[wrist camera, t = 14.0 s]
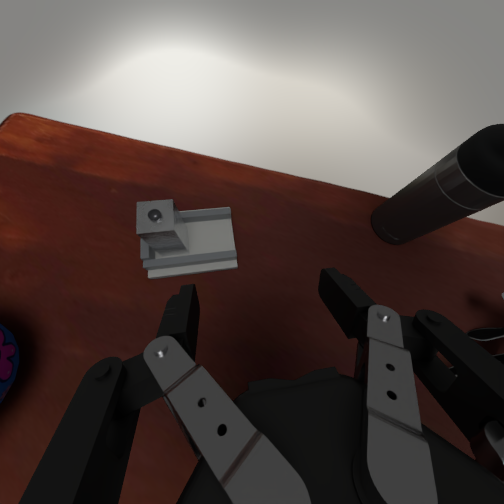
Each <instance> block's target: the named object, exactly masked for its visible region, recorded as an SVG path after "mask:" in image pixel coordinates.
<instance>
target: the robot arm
mask: <svg viewBox="0 0 504 504" xmlns="http://www.w3.org/2000/svg"><path fill="white" fill-rule="evenodd" d="M501 201H504V124H496V125H491V126H488V127H486V128H484V129H482V130H480V131H478V132H477V133H476V134H474V135H473V136H471V137H470V138H469V139H468V140H466V141H465V142H464V143H462V144H461V145H460V146H458V147H457V148H456V149H454V150H453V151H452V152H450V153H449V154H448V155H446V156H445V157H444V158H442V159H441V160H440V161H439V162H437V163H436V164H435V165H433V166H432V167H431V168H430V169H428V170H427V171H425V172H424V173H423V174H421V175H420V176H419V177H417V179H415V180H413V181H412V182H411V183H410V184H408V185H407V186H406V187H404V188H403V189H402V190H400V191H399V192H398V193H396V194H395V195H394V196H392V197H391V198H390V199H388V200H387V201H386V202H384V203H383V204H382V205H380V206H379V207H378V208H376V209H375V210H374V212H373V214H372V218H371V222H372V226H373V228H374V230H375V232H376V233H377V235H378V236H379V237H380V238H381V239H383V240H384V241H386V242H388V243H391V244H397V245H399V244H404V243H406V242H408V241H411V240H413V239H415V238H418V237H420V236H423V235H425V234H427V233H430V232H432V231H434V230H437V229H439V228H441V227H444V226H446V225H448V224H451V223H453V222H455V221H458V220H460V219H462V218H465V217H467V216H469V215H471V214H474V213H476V212H478V211H481V210H483V209H485V208H488V207H489V206H492V205H494V204H497V203H499V202H501ZM318 292H319V295H320V297H321V299H322V301H323V302H324V303H325V305H326V306H327V308H328V309H329V311H330V312H331V314H332V315H333V317H334V318H335V320H336V321H337V323H338V324H339V326H340V327H341V329H342V330H343V332H344V333H345V335H346V336H347V338H348V339H351V338H357V339H358V344H357V352H356V362H355V372H354V378H352V377H349V376H346V375H342V374H338V372H337V370H336V368H335V367H330V368H325V369H319V370H314V371H312V372H310V373H308V374H306V375H304V376H302V377H300V378H299V379H297V380H283V379H272V378H269V379H264V380H258V381H253V382H248V389H249V390H247V391H245V392H243V393H242V394H241V395H239V396H238V397H237V398H236V399H235V400H234V401H233V402H232V400H231V399H230V398H229V397H228V396H227V395H226V393H225V392H224V391H223V390H222V389H221V387H220V386H219V385H218V384H217V383H216V382H215V380H214V379H213V378H212V377H211V376H210V375H209V373H208V372H207V371H206V370H205V369H204V368H203V367H202V366H201V365H200V364H199V365H196V364H195V354H196V345H197V335H198V325H199V316H200V306H199V300H198V296H197V291H196V287H195V284H190V285H182V286H181V289H180V293H179V294H178V295H173V296H172V297H171V298H170V299H169V300H168V302H167V304H166V308H165V311H164V314H163V317H162V320H161V323H160V327H159V330H158V333H157V336H156V339H155V340H153V341H152V342H151V343H149V345H148V346H147V347H146V349H145V351H144V352H143V353H141V354H139V355H137V356H135V357H132V358H130V359H128V360H125V361H123V362H122V361H121V359H120V358H118V357H108V358H105V359H103V360H101V361H99V362H97V363H96V364H95V365H93V366H92V367H91V368H90V369H89V370H88V371H87V372H86V374H85V375H84V377H83V379H82V381H81V383H80V385H79V387H78V389H77V391H76V393H75V395H74V397H73V398H72V400H71V402H70V404H69V406H68V408H67V410H66V412H65V414H64V416H63V418H62V420H61V422H60V424H59V426H58V428H57V430H56V432H55V434H54V435H53V437H52V439H51V441H50V443H49V445H48V447H47V449H46V451H45V453H44V455H43V457H42V459H41V461H40V463H39V465H38V467H37V469H36V471H35V472H34V474H33V476H32V478H31V480H30V482H29V484H28V486H27V488H26V490H25V492H24V494H23V496H22V498H21V500H20V502H19V504H118V502H119V498H120V494H121V489H122V485H123V481H124V477H125V472H126V468H127V464H128V460H129V456H130V451H131V447H132V443H133V439H134V434H135V430H136V426H137V422H138V417H139V413H140V409H141V407H142V406H144V405H146V404H148V403H150V402H152V401H154V400H156V399H158V398H160V397H163V399H164V401H165V402H166V404H167V406H168V408H169V409H170V411H171V413H172V415H173V416H174V418H175V420H176V421H177V423H178V425H179V427H180V429H181V430H182V432H183V434H184V436H185V438H186V440H187V442H188V443H189V445H190V447H191V449H192V450H193V452H194V454H195V456H196V457H197V459H198V461H199V462H198V463H197V465H196V467H195V469H194V471H193V473H192V475H191V477H190V478H189V480H188V482H187V484H186V486H185V488H184V490H183V492H182V493H181V495H180V497H179V499H178V501H177V503H176V504H504V365H503V364H502V363H501V362H500V361H498V360H497V359H496V358H495V357H494V356H492V355H491V354H490V353H489V352H487V351H486V350H485V349H484V348H482V347H481V346H480V345H479V344H478V343H476V342H475V341H474V340H473V339H471V338H470V337H469V336H468V335H466V334H465V333H464V332H463V331H462V330H460V329H459V328H458V327H457V326H455V325H454V324H453V323H452V322H451V321H449V320H448V319H447V318H445V317H444V316H442V315H441V314H439V313H436V312H434V311H430V310H419V311H417V313H416V315H415V317H410V316H400V315H398V314H397V313H396V312H395V311H394V310H392V309H390V308H388V307H386V306H382V305H377V304H376V303H375V302H374V301H373V300H372V299H371V298H370V297H369V296H368V295H367V294H366V293H365V292H364V291H363V290H362V289H361V288H360V287H359V286H358V285H356V283H355V282H354V281H353V280H352V279H351V278H349V277H347V276H346V275H344V274H340V273H339V272H338V271H337V269H336V268H326V269H322V270H321V273H320V280H319V286H318ZM438 351H439V352H440V353H441V354H442V355H443V356H444V357H445V358H446V359H447V360H448V361H449V362H450V363H451V364H452V365H453V366H454V368H455V369H456V371H457V377H456V376H455V375H454V373H453V372H452V371H451V370H450V369H449V368H448V367H447V366H446V365H445V364H444V363H443V362H442V361H441V360H440V359H439V358H438V357H437V356H436V354H437V353H438ZM413 372H414V373H415V374H416V375H417V377H418V378H419V379H420V380H421V382H422V383H423V384H424V385H425V387H426V388H427V389H428V390H429V392H430V393H431V394H432V395H433V397H434V398H435V399H436V400H437V402H438V403H439V404H440V405H441V407H442V408H443V409H444V410H445V412H446V413H447V414H448V415H449V417H450V418H451V419H452V420H453V422H454V423H455V424H456V425H457V427H458V428H459V429H460V430H461V432H462V433H463V434H464V435H465V437H466V438H467V439H468V440H469V442H470V447H471V450H472V452H473V454H474V456H475V458H476V459H475V460H474V459H472V458H471V457H469V456H468V455H466V454H465V453H463V452H462V451H461V450H459V449H458V448H456V447H455V446H453V445H452V444H451V443H449V442H448V441H446V440H445V439H443V438H442V437H440V436H439V435H438V434H436V433H435V432H433V431H432V430H430V429H429V428H428V427H426V426H425V425H423V424H422V423H421V422H420V415H419V408H418V401H417V395H416V388H415V381H414V375H413Z"/></svg>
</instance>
